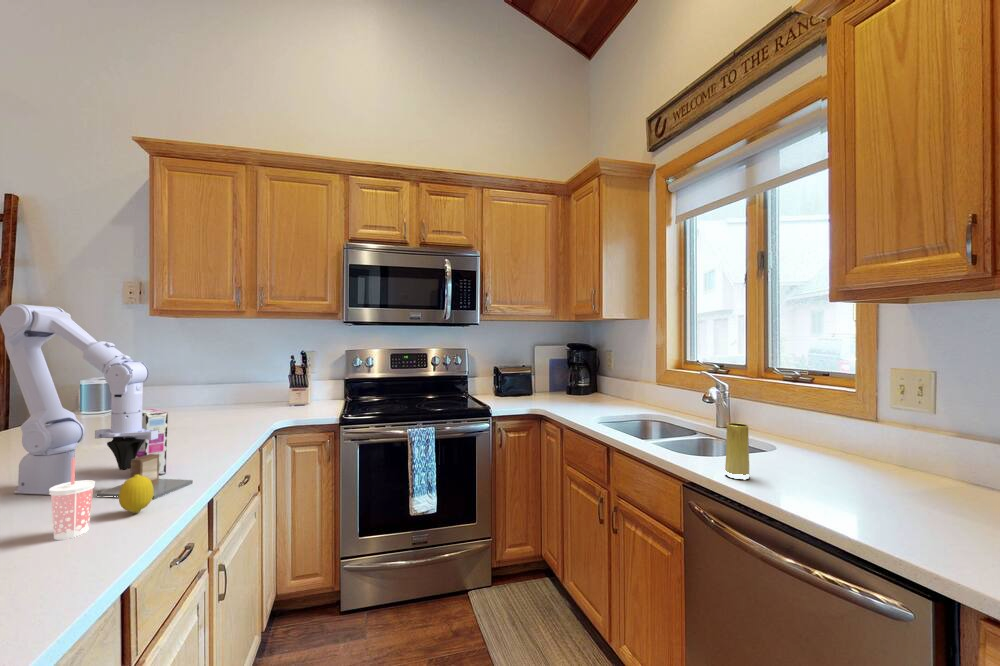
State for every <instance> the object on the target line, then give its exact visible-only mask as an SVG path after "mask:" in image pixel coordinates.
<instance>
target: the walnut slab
mask: <svg viewBox="0 0 1000 666" xmlns="http://www.w3.org/2000/svg"><path fill="white" fill-rule="evenodd" d="M137 474H139V475H140V476H145V477H147V478H149V479H150V480H151V482H152V485H155V484H158V482H159V479H160V477H159V476H160V475H159V454H148V455H145V456H142V457H138V458H135V459H132V460H131V468H130V478H132V477H134V476H135V475H137Z"/></svg>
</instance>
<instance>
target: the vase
mask: <svg viewBox="0 0 1000 666" xmlns="http://www.w3.org/2000/svg"><path fill="white" fill-rule="evenodd" d="M749 439H750V438H749V425H748V424H745V423H742V422H741V423H740V422H727V423H726V445H725V446H726V448H725V450H726V451H725V464H724V465H725V470H726V471H727V472H729V473H732V474H743V475H746V474H749V475H750V445H749V442H750V440H749ZM725 470H724V471H725Z"/></svg>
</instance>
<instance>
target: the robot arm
mask: <svg viewBox="0 0 1000 666" xmlns="http://www.w3.org/2000/svg"><path fill="white" fill-rule="evenodd" d="M0 327H1V329H2V333H3V335H4V347H5V351H6V354H7V355H8V359H9V361H10V364H11V366H12V369H13V371H14V375H15V378H16V381H17V383H18V387H19V388H20V392H21V394H22V397H23V399H24V402H25V405H26V407H27V410H28V413H29V415H30V416H29V417H28V418H27V420H26V421H24V422H23V423H22V424H21V426H20V430H21V434H22V437H21V445H22V447H23V449H24V450H25V451H26V452H27V454H25V455H24V456H23V457H22V458H21V459H20V461H19V463H18V481H17V482H18V484H17V485H18V486H17V488H18V489H16V490H14V491H13V494H26V495H50V494H49V493H50V492H49V489H50V488H51V487H53V486H56V485H59V484H63V483H67V482H71V458H75V459H76V449H77V448H78V447H79V443H81V442H82V441H83V439H84V437H85V435H86V434H85V433H86V430H85V427H84V425H83V423H82V422H80V421H79V420H78V419H77V416H76V414H75V413H74V412H72V411H70V410H68V409H66V408H65V407H63V406H62V405H63V404H62V403H61V400H60V398H59V394H58V392H57V388H56V387H55V384H54V380H53V378H52V375H51V373H50V370H49V368H48V365H47V364H48V363H47V362H46V359H45V356H44V353H43V351H42V346H43V345H44V343H46V342H48V341H49V340H51V339H52V338H53V337H54V336H55V335H57V336H58V337H60V338H61V339H63V341H66V342H68V343H69V344H71V345H72V346H74V347H75V348H77V349H78V350H80V351H82V358H83V360H85V361H86V362H87V363H89V364H90V365H92V367H94V368H96V369H97V370H98V371H99V372H101V373H102V374H104V380H105V382H106V384H107V385H108V387H109V392H110V394H111V397H110V398H111V403H110V406H111V408H110V410H111V413H110V428H100V429H96V430H94V439H97V440H98V439H111V440H110V441H107V442H106V446H107V447H108V448H109V449H110V450H111V452H112V453H113V455H114V458H115V460H116V463H117V466H118V470H119V471H127V470H131V460H132V459H135V457H136V455H137V453H138V451H139V449H140V447H141V445H142V444H143V443H144V441H145V439H147V440H154V439H158V430H149V429H143V428H142V410H143V405H144V403H143V400H144V399H143V398H144V393H143V391H144V390H143V389H144V383H145V382H146V381H148V379H149V378H150V377H149V376H150V370H149V367H148V366H147V365H146V364H145V362H144V361H141V360H133V359H131V358H132V357H130V356H129V355H126V354H124V353H123V352H121V351H120V350H119V349H117V348H116V344H114V343H113V342H108V341H103V340H101V341H97V340H96V339H95V337H93V336H92V335H91V334H89V333H88V332H87V331H86V330H85V329H84V328H82V327H81V326H80V325H79V324H77V323H76V322H75V321H74V320H73V319H72V316H71V314H70V313H68V312H67V311H65V310H64V309H62V308H61V307H59V306H57V305H55V306H53V305H51V306H47V305H46V306H45V305H33V304H31V305H30V304H23V303H13V304H10V305H8V306H7V307H6V308H5V309H4V311H3V312H2V313H1V315H0ZM50 496H51V495H50Z"/></svg>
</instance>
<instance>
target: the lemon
mask: <svg viewBox="0 0 1000 666" xmlns="http://www.w3.org/2000/svg"><path fill="white" fill-rule="evenodd" d="M122 484H123V485H122ZM122 484H121V485H122V487H121V489H120V492H119V498H118V501H119V505H120V506H121V508H122V509H123V510H124V511H127V512H131V513H133V514H134V513H136V514H138V513H139V512H140V511H142V510H143V509H146V508H147V507H148V505H150V503H151V501H153V499H152V498H153V493H154V489H153V485H152V482H151V480H150V479H149V478H147V477H145V476H140V475H139V474H137V475H135V476H134V477H132V478H131V477H130V478H128V479H127V480H126V481H124V482H123V483H122ZM137 512H138V513H137Z"/></svg>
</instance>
